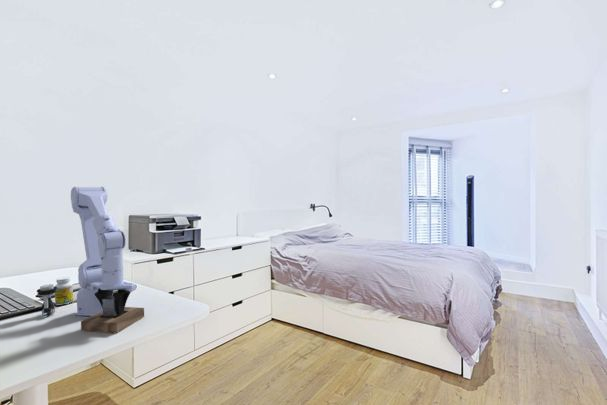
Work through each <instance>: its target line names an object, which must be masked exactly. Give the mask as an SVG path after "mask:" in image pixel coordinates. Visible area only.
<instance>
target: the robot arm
mask: <svg viewBox="0 0 607 405" xmlns="http://www.w3.org/2000/svg"><path fill="white" fill-rule="evenodd" d="M107 201H108V191H107V189H106V188H105V186H101V187H100V186H99V187H98V186H94V187H93V186H91V187H90V186H73V187H72V188H71V191H70V202H71V208H72V212H73V213H74V214H77V215H78V216H79V219H80V223H81V230H82V237H83V244H84V250H85V257H86V260H85V261H84V262H82V263H81V264H80V265H79V266H78V270H77V271H78V274H77V275H78V276H77V277H78V278H77V279H78V284H79V287H80V288H79V290H78V291H77V294H76V310H77V311H76V313H74V315H75V316H84V317H85V316H86V317H90V316H92V315H95V314H97V313H99V312H101V311H103V301H102V299H104V298H106V297H109V296H111V295H113V297H114V299H115V302H116V311H117V314H121V313H123V312H124V308H125V307H126V304H127V301H128V299H129V296H130V294H131V293H132V292H134V291H136V290H137V284H136V283H131V282H127V281H124V261H123V259H124V257H123V256H124V255H123V249H124V248H125V247H126V237H125V236H126V235H125V232H124V231H123V230H121V229H120V228H118V226H117V224H116V222H115V219H114V218H113V216H112V215H109V214H108V213H107V212H108V211H107V208H106V203H107ZM114 291H115V292H114Z"/></svg>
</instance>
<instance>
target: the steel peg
mask: <svg viewBox="0 0 607 405" xmlns="http://www.w3.org/2000/svg"><path fill="white" fill-rule="evenodd" d="M102 301H103V318H117V317H119V316H121V315H123V314H124V312H123V313H121V314H117V311H116V302H115V299H114V297H113V294H112V295H111V296H109V297H106V298H104V299H102Z"/></svg>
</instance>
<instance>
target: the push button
mask: <svg viewBox="0 0 607 405" xmlns="http://www.w3.org/2000/svg"><path fill="white" fill-rule="evenodd" d="M56 289H57V287H55V285H54V284H51V283H49V284H44V285H41V286H40V287H39V288H38V289H37V290H36V293H37V294H38V296H40V297H43V302H42V304H41V309H42V310H41V317H42V319H45V318H49V317H50V316H51V315H54V314H55V312H56V310H55V309H56V308H55V306H56V304H54V302H53V300H52V295H55V292H56Z"/></svg>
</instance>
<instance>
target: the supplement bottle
mask: <svg viewBox="0 0 607 405" xmlns="http://www.w3.org/2000/svg"><path fill="white" fill-rule="evenodd" d="M55 280H56V283H57V284H55V285H54V286H55V287H57V289H56V292H55V293H54V302H55V303H56V304H67V305H70V304H71V303H70V302H71V301H73V302H74V290H73V289H74V288H73V287H74V286H73V285H74V284H73V282H71V277H70V276H64V277H59V278H56V279H55ZM69 303H70V304H69ZM56 304H55V305H56Z"/></svg>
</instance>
